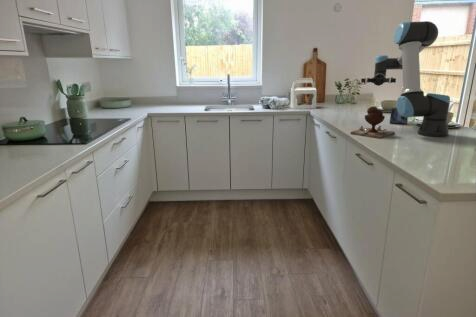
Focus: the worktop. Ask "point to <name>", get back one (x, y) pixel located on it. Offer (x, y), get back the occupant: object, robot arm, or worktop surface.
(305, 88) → the white lantern
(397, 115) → the small box
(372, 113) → the ice cream bowl
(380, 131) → the stub board
